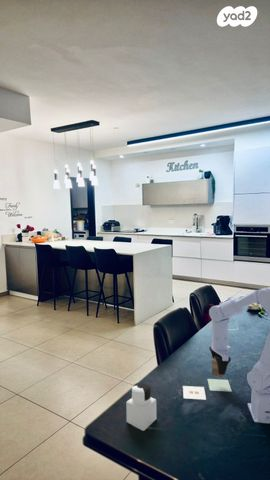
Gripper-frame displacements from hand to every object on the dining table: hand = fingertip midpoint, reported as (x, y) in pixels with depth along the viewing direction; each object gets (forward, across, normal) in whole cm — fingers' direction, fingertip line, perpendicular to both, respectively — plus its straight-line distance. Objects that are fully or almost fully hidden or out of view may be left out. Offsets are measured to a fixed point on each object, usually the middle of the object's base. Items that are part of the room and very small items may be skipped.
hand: (219, 369), depth 121 cm
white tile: (+6, -4, +11) cm, 13 cm away
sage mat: (+6, 0, 0) cm, 6 cm away
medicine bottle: (+7, -19, +31) cm, 37 cm away
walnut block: (+2, 0, 0) cm, 2 cm away
